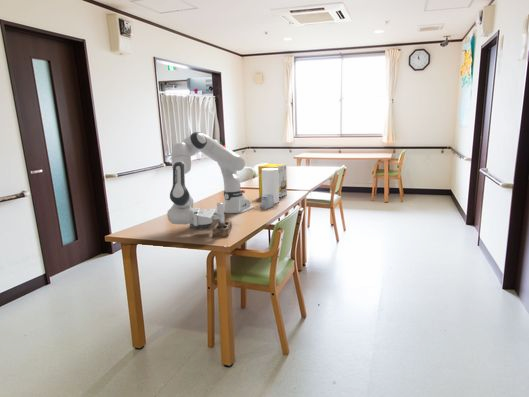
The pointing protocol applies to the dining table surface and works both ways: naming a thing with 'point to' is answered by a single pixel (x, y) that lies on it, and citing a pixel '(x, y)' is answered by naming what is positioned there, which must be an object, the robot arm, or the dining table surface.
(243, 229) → the dining table surface
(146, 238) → the dining table surface
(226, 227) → the tool rack
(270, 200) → the medicine box
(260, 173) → the packaging box
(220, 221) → the rod
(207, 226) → the socket block
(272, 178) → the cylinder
